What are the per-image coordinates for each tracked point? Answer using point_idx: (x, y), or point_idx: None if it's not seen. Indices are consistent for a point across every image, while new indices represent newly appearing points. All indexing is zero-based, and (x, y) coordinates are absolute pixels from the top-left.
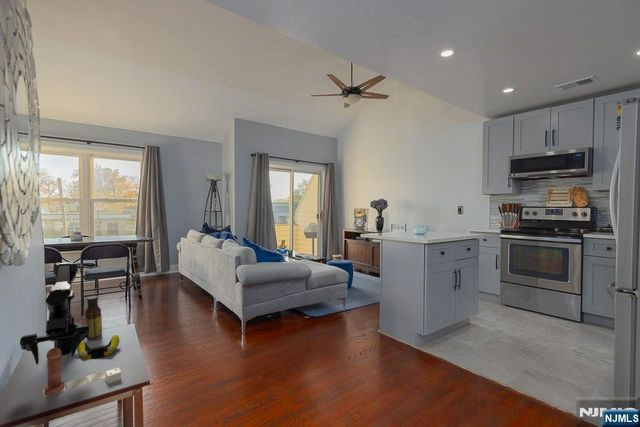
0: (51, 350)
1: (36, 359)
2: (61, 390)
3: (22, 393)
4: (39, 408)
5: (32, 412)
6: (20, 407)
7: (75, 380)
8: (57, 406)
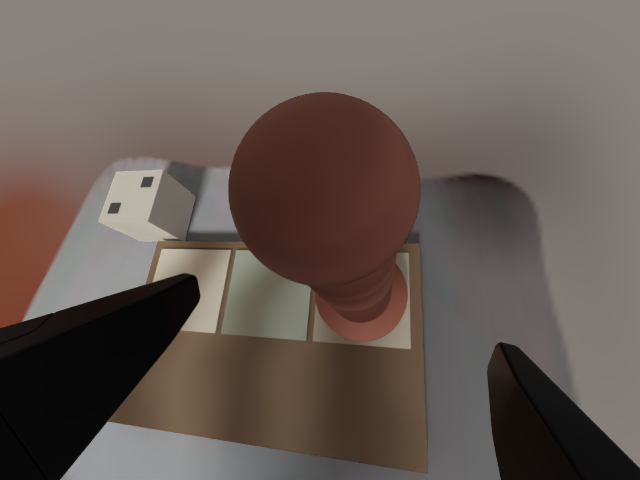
0: (349, 110)
1: (535, 383)
2: None
3: None
4: (423, 207)
5: (448, 194)
6: (501, 273)
7: (265, 323)
8: None
